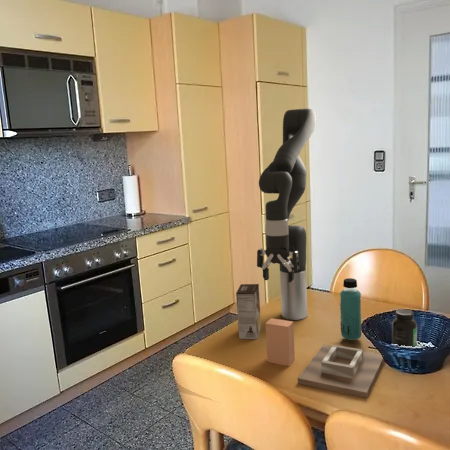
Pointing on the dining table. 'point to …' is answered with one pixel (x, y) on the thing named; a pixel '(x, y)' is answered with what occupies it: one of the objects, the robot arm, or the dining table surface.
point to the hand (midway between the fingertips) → (278, 280)
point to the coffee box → (248, 311)
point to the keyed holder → (342, 370)
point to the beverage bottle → (350, 310)
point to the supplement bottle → (404, 328)
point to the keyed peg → (280, 341)
